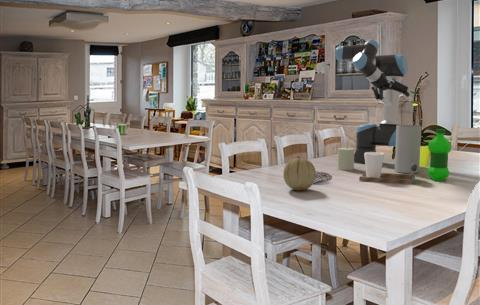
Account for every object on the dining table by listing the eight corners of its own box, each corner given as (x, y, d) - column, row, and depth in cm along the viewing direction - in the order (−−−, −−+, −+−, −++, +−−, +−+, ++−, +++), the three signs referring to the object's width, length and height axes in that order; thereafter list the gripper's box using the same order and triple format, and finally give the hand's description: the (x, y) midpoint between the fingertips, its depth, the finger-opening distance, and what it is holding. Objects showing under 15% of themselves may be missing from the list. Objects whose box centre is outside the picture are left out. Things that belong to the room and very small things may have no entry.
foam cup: (361, 177, 231) (361, 152, 230) (378, 176, 232) (379, 151, 230) (367, 181, 222) (368, 154, 220) (386, 180, 223) (387, 154, 221)
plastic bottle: (422, 177, 229) (425, 128, 225) (443, 177, 229) (445, 128, 226) (432, 181, 219) (435, 130, 215) (453, 181, 219) (456, 130, 216)
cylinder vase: (407, 174, 237) (409, 127, 234) (389, 170, 248) (391, 125, 245) (424, 172, 243) (426, 126, 239) (405, 168, 254) (407, 124, 250)
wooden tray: (359, 180, 223) (359, 163, 221) (362, 175, 236) (363, 158, 235) (416, 184, 213) (417, 166, 212) (416, 178, 226) (417, 161, 225)
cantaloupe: (293, 195, 194) (293, 160, 192) (277, 188, 208) (277, 156, 205) (322, 191, 200) (323, 158, 198) (304, 185, 213) (305, 153, 211)
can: (355, 168, 258) (355, 147, 256) (352, 170, 250) (352, 149, 248) (339, 166, 262) (339, 146, 260) (335, 169, 254) (336, 148, 252)
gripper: (355, 88, 244) (380, 112, 251) (392, 76, 222) (417, 103, 230) (360, 77, 247) (384, 102, 254) (397, 65, 225) (422, 92, 233)
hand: (400, 102), depth 242 cm, fingers open, 13 cm apart
